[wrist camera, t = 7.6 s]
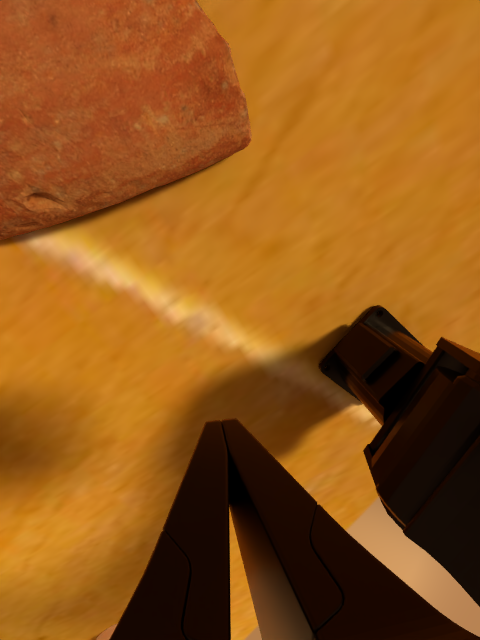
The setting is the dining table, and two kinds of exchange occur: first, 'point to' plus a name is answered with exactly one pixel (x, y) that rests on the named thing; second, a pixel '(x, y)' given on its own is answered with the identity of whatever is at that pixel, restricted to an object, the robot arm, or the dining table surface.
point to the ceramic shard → (108, 104)
